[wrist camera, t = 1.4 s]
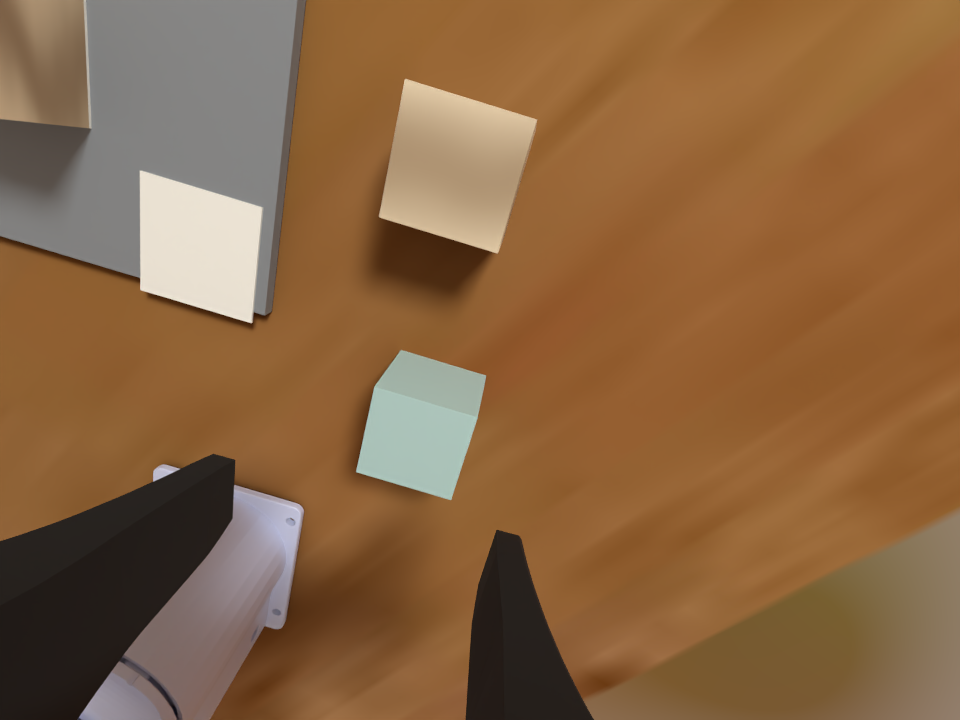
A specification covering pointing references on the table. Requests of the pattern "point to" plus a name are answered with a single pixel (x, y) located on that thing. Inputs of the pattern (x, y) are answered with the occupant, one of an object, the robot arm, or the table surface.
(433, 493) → the teal cube
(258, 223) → the slate board
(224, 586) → the robot arm
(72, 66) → the oak cube
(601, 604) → the table surface
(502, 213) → the maple cube
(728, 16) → the table surface
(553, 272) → the table surface
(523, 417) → the table surface
